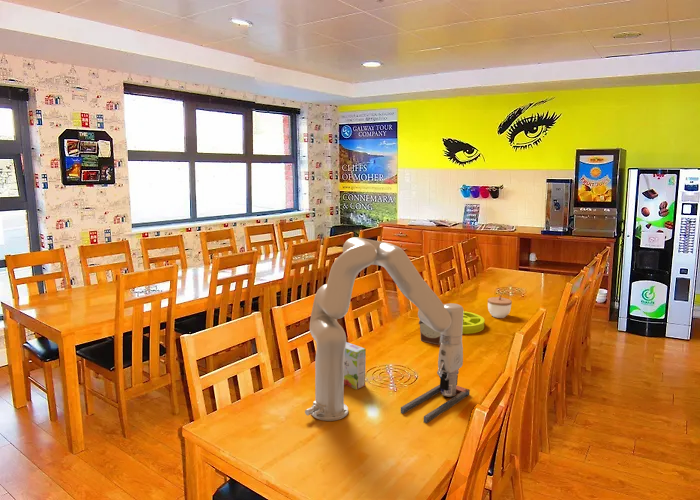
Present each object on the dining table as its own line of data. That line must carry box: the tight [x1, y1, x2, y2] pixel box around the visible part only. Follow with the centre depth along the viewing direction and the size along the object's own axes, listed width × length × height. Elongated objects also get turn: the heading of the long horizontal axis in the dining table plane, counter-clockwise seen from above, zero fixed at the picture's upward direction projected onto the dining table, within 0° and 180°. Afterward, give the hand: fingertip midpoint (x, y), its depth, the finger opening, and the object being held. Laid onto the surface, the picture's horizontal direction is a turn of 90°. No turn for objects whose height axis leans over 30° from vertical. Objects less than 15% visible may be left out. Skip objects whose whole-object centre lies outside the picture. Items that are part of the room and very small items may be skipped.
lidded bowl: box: [487, 296, 513, 319], centre depth 283 cm, size 13×13×11 cm
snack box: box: [344, 341, 367, 390], centre depth 198 cm, size 21×6×15 cm, turn 47°
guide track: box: [400, 384, 471, 424], centre depth 180 cm, size 28×10×2 cm, turn 138°
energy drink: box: [440, 369, 458, 398], centre depth 185 cm, size 5×5×12 cm
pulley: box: [462, 310, 485, 335], centre depth 267 cm, size 28×28×5 cm
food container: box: [418, 319, 441, 346], centre depth 243 cm, size 12×6×10 cm, turn 58°
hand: (448, 386), depth 186 cm, fingers closed on energy drink, 5 cm apart
